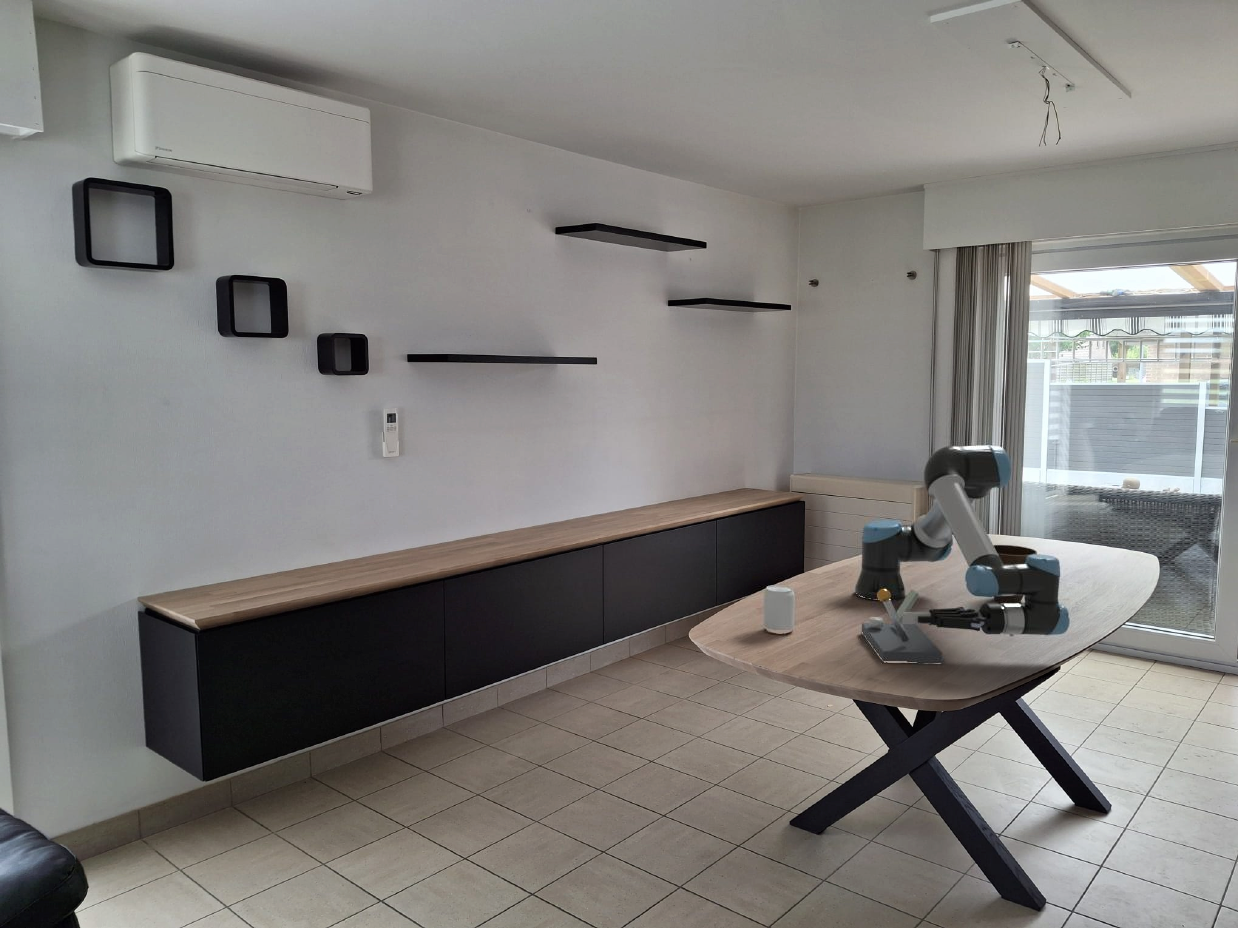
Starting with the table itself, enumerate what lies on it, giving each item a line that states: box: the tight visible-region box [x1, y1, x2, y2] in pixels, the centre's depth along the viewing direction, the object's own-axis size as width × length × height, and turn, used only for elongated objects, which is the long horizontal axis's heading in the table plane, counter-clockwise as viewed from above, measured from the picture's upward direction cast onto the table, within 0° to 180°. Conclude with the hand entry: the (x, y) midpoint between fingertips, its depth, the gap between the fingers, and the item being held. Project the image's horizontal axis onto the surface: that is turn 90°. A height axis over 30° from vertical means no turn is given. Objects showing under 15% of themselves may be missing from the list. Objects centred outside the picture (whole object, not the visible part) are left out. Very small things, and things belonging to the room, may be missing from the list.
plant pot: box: [993, 544, 1038, 604], centre depth 269 cm, size 15×15×16 cm
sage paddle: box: [890, 588, 920, 623], centre depth 230 cm, size 4×1×10 cm, turn 177°
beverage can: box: [763, 584, 796, 630], centre depth 238 cm, size 8×8×12 cm
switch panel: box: [861, 622, 943, 664], centre depth 224 cm, size 24×14×3 cm, turn 177°
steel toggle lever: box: [877, 589, 909, 642], centre depth 216 cm, size 3×3×14 cm
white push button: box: [868, 616, 884, 627], centre depth 231 cm, size 4×4×2 cm
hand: (903, 617), depth 216 cm, fingers closed
